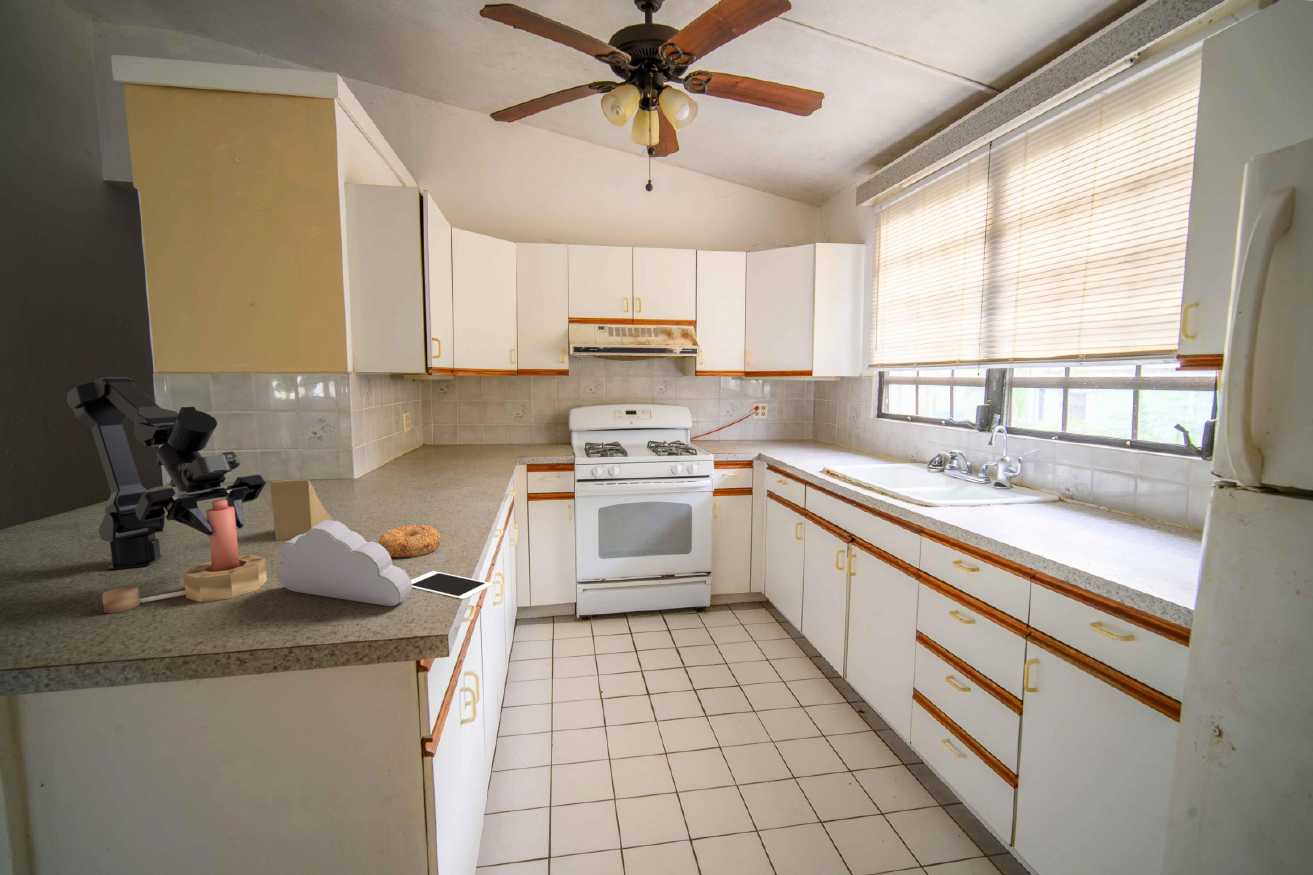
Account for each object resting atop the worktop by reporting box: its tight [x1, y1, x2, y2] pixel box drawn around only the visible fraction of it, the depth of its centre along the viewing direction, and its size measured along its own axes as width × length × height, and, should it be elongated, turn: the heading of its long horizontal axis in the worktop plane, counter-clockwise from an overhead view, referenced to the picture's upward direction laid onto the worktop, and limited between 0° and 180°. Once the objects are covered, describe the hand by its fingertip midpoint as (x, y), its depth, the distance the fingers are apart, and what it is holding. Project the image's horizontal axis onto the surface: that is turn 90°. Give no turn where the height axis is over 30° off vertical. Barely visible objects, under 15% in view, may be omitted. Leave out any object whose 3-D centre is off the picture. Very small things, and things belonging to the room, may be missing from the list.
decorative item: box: [275, 519, 413, 607], centre depth 95 cm, size 28×10×15 cm, turn 73°
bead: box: [183, 554, 268, 603], centre depth 99 cm, size 11×11×4 cm
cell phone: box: [411, 570, 493, 601], centre depth 102 cm, size 8×16×1 cm, turn 65°
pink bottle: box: [206, 499, 240, 572], centre depth 98 cm, size 4×4×14 cm
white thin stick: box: [139, 589, 186, 604], centre depth 95 cm, size 12×1×1 cm, turn 128°
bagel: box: [377, 524, 441, 558], centre depth 122 cm, size 13×14×5 cm
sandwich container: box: [269, 479, 334, 541], centre depth 136 cm, size 9×15×15 cm, turn 13°
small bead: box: [101, 585, 141, 614], centre depth 91 cm, size 4×4×3 cm
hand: (226, 530), depth 98 cm, fingers open, 5 cm apart
